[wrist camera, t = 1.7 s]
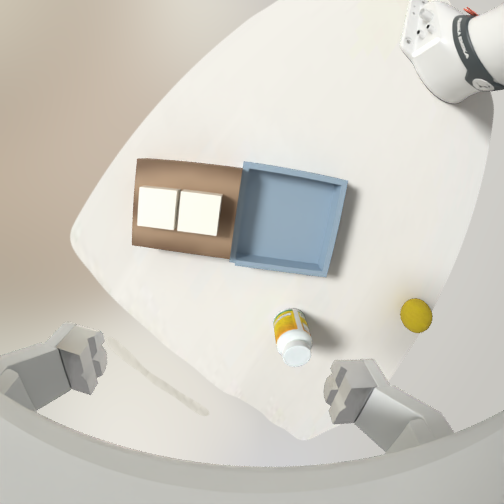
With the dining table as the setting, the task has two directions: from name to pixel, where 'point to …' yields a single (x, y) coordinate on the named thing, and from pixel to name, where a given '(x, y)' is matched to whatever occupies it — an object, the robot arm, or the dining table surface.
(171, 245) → the flat wooden block
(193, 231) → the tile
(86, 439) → the robot arm
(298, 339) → the supplement bottle
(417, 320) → the lemon
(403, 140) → the dining table surface
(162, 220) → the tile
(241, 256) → the box
